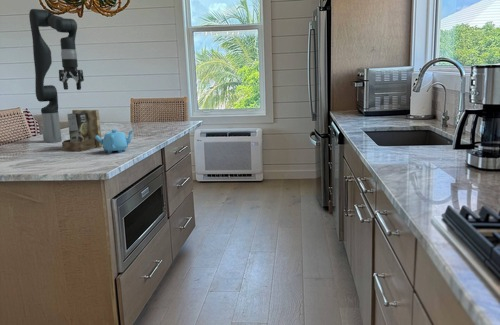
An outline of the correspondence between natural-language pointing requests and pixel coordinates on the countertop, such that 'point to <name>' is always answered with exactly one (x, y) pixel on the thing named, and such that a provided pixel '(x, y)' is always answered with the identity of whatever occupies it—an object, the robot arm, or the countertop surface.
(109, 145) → the teapot
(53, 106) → the robot arm
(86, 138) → the coffee box
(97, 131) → the wall board
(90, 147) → the brown open box
